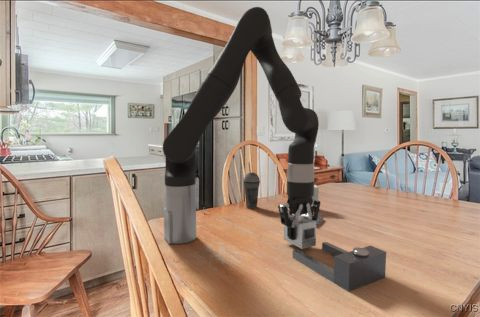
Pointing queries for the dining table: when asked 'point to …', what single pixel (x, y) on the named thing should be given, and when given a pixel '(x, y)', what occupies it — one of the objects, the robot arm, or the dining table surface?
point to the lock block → (303, 233)
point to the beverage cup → (251, 189)
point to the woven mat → (319, 221)
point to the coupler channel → (348, 265)
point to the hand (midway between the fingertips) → (299, 237)
